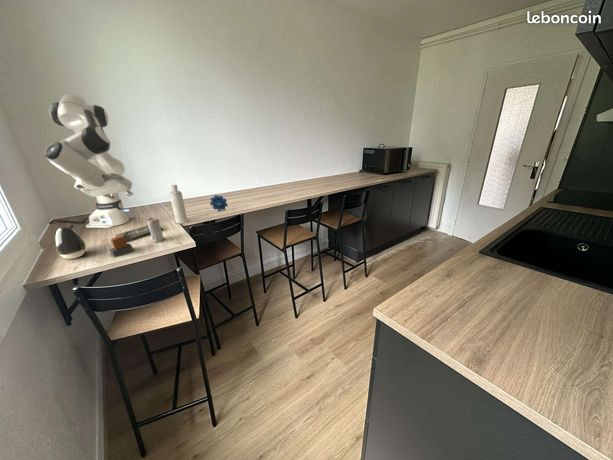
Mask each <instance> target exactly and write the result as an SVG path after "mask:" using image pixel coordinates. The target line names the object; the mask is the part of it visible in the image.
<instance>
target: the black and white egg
mask: <svg viewBox="0 0 613 460" xmlns="http://www.w3.org/2000/svg"><path fill="white" fill-rule="evenodd" d="M74 226H75V225H74V224H70V225H69V226H60V227H58V228H56V231H55V235H54V245H55V250H56V252H57V254H58V255H59V256H60V257H62V258H63V259H67V260H74V259H78V258H79V257H81V256H83V255H84V254H85V253H86V251H87V249H86V248H87V245H86V242H85V241H84V240H83V238H82V237H81V236H80V235H79V233H78V232H77V231H75V230H74V229H73V228H74Z"/></svg>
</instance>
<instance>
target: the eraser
mask: <svg viewBox="0 0 613 460" xmlns="http://www.w3.org/2000/svg"><path fill="white" fill-rule="evenodd" d="M110 242H111V245H112V248H109V252H110V254H111V255H112V256H113V257H114V258H117V257H119V256H122V255H125V254H127V253H131V252H133V251H134V248H133V245H132V244H130V243H129V242H126V240H125V237H124V236H119V237H116V236H115V237H113V238H110Z"/></svg>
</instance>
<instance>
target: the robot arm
mask: <svg viewBox="0 0 613 460" xmlns="http://www.w3.org/2000/svg"><path fill="white" fill-rule="evenodd" d="M48 114H49V116H50V118H51V119H52V121H53V122H54V123H55V124H56V125H58V126H60V127H65V128H66V129H68V130H70V131H73V133H74V134H71V135H70V136H67V137H65V138H63V139H61V140H59V141H54V142H51V143H49V144H48V145H47V146H46V148H45V150H44V154H43V155H44V157H45V158H46V160H48V161H49V163H51V164H52V165H54V167H55V168H58V169H59V170H61V172H63V173H65V174H67V175H69V176H71V178H73V179H74V180H75V182H74V186H73V188H75V189H77V190H80V191H81V192H83V194H85V195H88V196H89V197H93V198H95V199H96V203H95V204H94V205H93V206H94V207H95V208H96V209H95V210H94V211H93V212H92V213H91V214H90V215H89V216H88V217H85V218H83V219H82V221H77V220H66V219H64V220H63V219H52V220H50V221H51V222H50V221H49V222H48V223H49V224H48V225H50V224H51V223H54V222H55V223H56V222H57V223H58V222H60V223H72V224H73V223H75V224H83V223H85V222H86V220H87V221H88V223H87V224H86V225H85V228H86V229H109V228H113V227H116V226H121V225H123V224H126V223H128V222H130V218H129V217H128V215H127V213H126V212H129V211H130V209H124V206H123V205H124V204H123V202H122V200H121V199H120V195H119V193H120V192H124V193H125V195H126V196H128V197H132V196H133V195H134V194H133V192H132V191H131V189H132V186H133V182H132V181H131V180H129V179H128V178H127V177H125V176H124V173H125V166H124V164H123V162H122V161H121V160H119V159H118V158H116V157H114V156H112V155H111V154H110V153H109V152H108V151H109V150H110V147H111V141H110V140H109V137H107V135H106V132H105V131H104V129H103V128H106V127H107V126H108V124H109V120H110V119H109V115H108V113H107V111H106V110H105V108H104V107H102V106H100V105H96V104H93V105H92V104H88V103H87V101H86V100H85V99H84V98H82V96H79V95H77V94H74V93H68V94H64V95H63V96H62V97H61V98H60V100H59V102H57V101H56V102H53V103H51V104H50V105H49V107H48ZM92 158H95V159H92ZM90 159H91V160H90Z"/></svg>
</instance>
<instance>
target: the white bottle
mask: <svg viewBox="0 0 613 460" xmlns="http://www.w3.org/2000/svg"><path fill="white" fill-rule="evenodd" d="M170 189H171V191H169V192H170V193H169V198H170V202H171V206H172V211H173V214H174V218H175V223H176V224H185V223H187V222H188V221H189V220H188V216H187V210H186V206H185V201H184V197H183V193H182V191H181V190H178V189H179V188H178V185H177V184H171V185H170Z"/></svg>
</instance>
